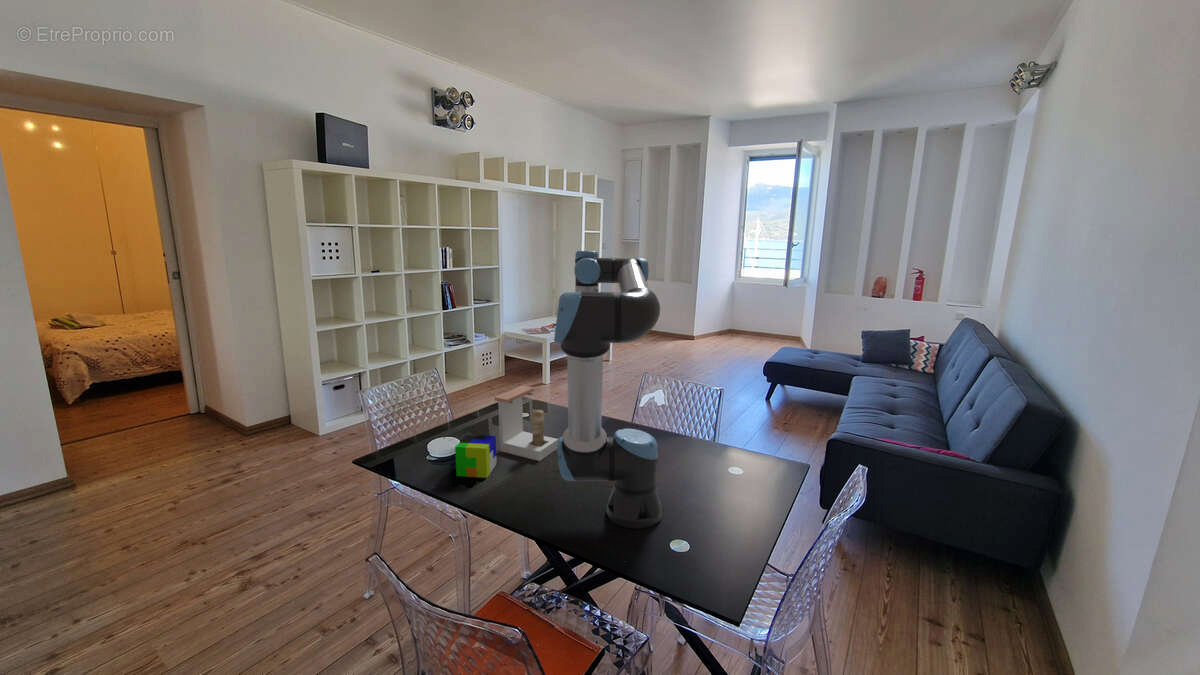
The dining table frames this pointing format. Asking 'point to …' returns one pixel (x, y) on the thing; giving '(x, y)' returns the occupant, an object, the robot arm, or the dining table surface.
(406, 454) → the dining table surface
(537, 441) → the dowel
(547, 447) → the socket board
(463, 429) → the dining table surface
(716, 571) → the dining table surface
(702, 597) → the dining table surface
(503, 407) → the wood-topped pedestal
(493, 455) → the puzzle toy
